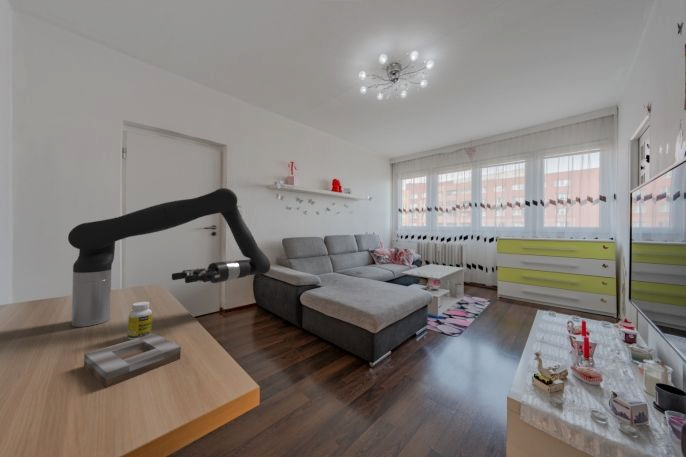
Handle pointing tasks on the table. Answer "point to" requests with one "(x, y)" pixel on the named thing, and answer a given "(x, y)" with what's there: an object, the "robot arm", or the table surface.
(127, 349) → the mount block
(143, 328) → the supplement bottle
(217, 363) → the table surface
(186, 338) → the table surface
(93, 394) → the table surface
